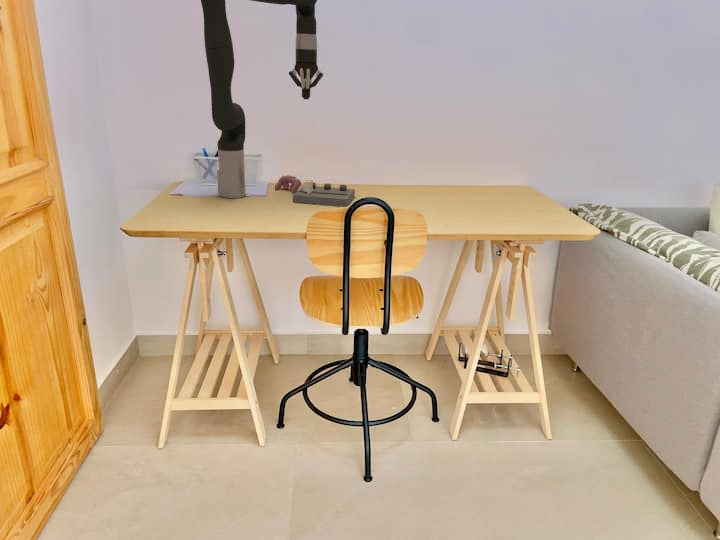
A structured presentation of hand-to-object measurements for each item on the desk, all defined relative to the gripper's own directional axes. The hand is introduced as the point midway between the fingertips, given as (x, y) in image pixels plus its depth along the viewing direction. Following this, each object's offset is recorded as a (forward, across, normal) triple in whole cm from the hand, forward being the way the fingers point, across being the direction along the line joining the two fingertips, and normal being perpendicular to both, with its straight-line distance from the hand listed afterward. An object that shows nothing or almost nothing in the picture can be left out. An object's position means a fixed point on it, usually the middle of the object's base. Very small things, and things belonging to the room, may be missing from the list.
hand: (306, 99), depth 201 cm
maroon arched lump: (+35, -8, +2) cm, 36 cm away
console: (+35, +9, -7) cm, 37 cm away
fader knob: (+32, +3, -9) cm, 33 cm away
